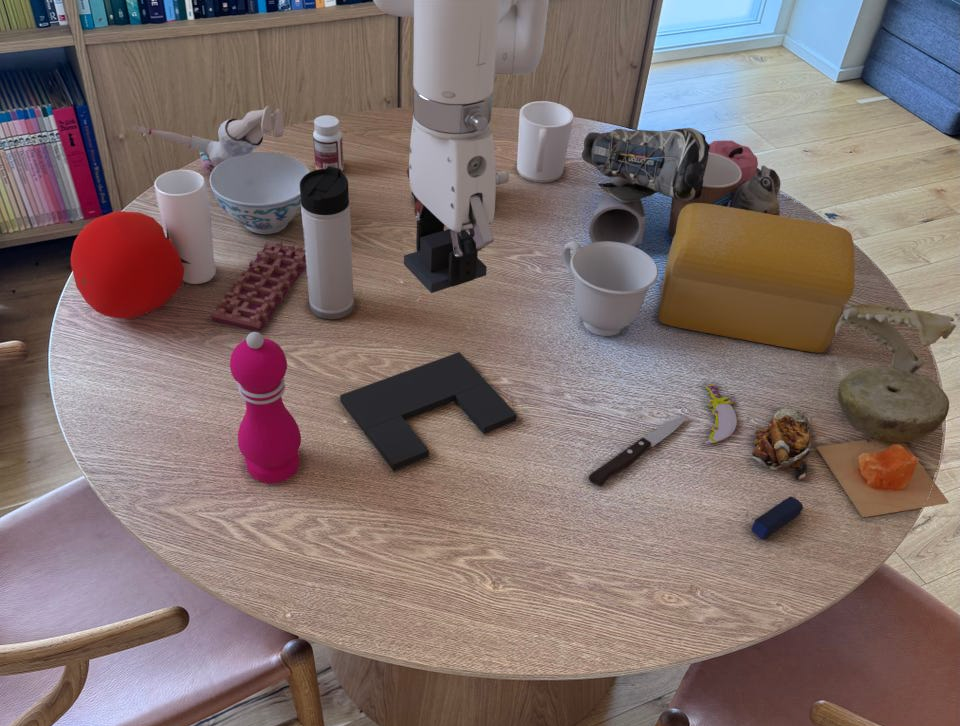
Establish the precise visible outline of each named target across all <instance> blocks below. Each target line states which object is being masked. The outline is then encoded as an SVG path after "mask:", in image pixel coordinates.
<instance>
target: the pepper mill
mask: <svg viewBox="0 0 960 726" xmlns="http://www.w3.org/2000/svg"><path fill="white" fill-rule="evenodd" d="M229 369H230V373H231V376H232V378H233V379H234V380H235V381H236V383H237V387H238V393H239V396H240V397H241V398H242V399H243V400H244V401H245V413H244V416H243V417H242V419H241V422H240V424H239V427H238V432H237V447H238V450H239V453H241V455H242V457H244V460H245V466H246V470H247V473H248V474H249V476H250V477H252V478H253V479H254V480H256V481H258V482H260V483H265V484H277V483H282V482H285V481H287V480H289V479H290V478H292V477H293V476H294V475H295V474H296V473H297V471H298V470H299V467H300V454H299V449H300V447H301V445H302V444H301V443H302V435H301V431H300V428H299V425H298V423H297V421H296V420H295V418H294V416H293V415H292V414H291V412H290V411H289V410H288V409H287V408H286V406H285V404H284V402H283V398H282V396H283V395H284V393H285V391H286V383H285V376H286V372H287V369H288V361H287V356H286V354H285V351H284V350H283V349H282V347H281V346H280V345H279V344H278V343H277V342H275V341H273V340H272V339H270V338H267V337H264V336H263V335H262V334H261V333H260V332H259V331H252V332H249V333H248V334H247V336H246V338H245V339H244V340H242V341H240V342H239V343H238V344H237V345H235V347H234V348H233V350H232V352H231V355H230V358H229Z"/></svg>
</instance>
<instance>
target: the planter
mask: <svg viewBox="0 0 960 726" xmlns="http://www.w3.org/2000/svg"><path fill="white" fill-rule="evenodd" d="M610 182H612V183H614V184H616V185H618V186H621V185H623V184H626V183H632V184H635V182H631V181H629V180H626V179H623V178H620V177H611V178H610V180H609V183H610ZM646 223H647V215H646V212H645V208H644V205H643V201H642V199H639V200H635V201H631V202H621V201H620V200H618V199H616V198H614V197H613V196H612V195H610V194H609V193H607V192H604V193H603V195H602V198H601V199H600V201H599V204H598V206H597V208H596V210H595V211H594V213H593V215H592V218H591V219H590V221H589V225H588V237H589V238H590V241H591V242H592V243H595V242H604V241H608V242H618V243H624V244H627V245H631V246H633V247H636V246H637V245H643V241H644V240H643V239H644V235H645V230H646V225H647V224H646Z"/></svg>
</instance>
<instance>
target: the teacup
mask: <svg viewBox="0 0 960 726" xmlns="http://www.w3.org/2000/svg"><path fill="white" fill-rule="evenodd" d="M571 251H573V254H572V255H571ZM561 259H562V263H563V265H564V266H565V269H566V270H567V271H568V273H569V274H570V275H571V276H572V277H573V278H574V290H573V291H574V295H573V296H574V297H573V299H574V306H575V310H576V313H577V315H578V316H579V318H580V319H581V320H582V323H583V326H584V327H585V329H586V330H587V331H588V332H590V333H591V334H594V335H596V336H599V337H600V336H601V337H612V336H615V335H618V334H619V333H621V331H622V330H623V329H624V328H625V327H628V326H629V325H630V324H631V323H632V322H633V321H634V320H635V319H636V318H637V316H638V314H639V313H640V310H641V308H642V306H643V303H644V300H645V298H646V295H647V292H648V290H649V288H650V287H652V286H653V285H654V284H655V283H656V282H657V280H658V277H659V268H658V266H657V264H656V263H655V261H654V259H652V257H651V256H650V255H648V254H647V253H646V252H645V251H644V250H642V249H640V248H638V247H636V246H634V247H633V246H631V245H627V244H624V243H618V242H608V241H604V242H595V243H593V242H592V243H589V244H586V245H584V246H582V245H581V244H580V243H579V242H577V241H575V240H571V241H568V242H567V243H566V244H564V246H563V248H562V252H561Z"/></svg>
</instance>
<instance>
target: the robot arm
mask: <svg viewBox="0 0 960 726" xmlns="http://www.w3.org/2000/svg"><path fill="white" fill-rule="evenodd" d="M372 1H373V3H374V5H375V6H376V7H377V8H378V9H379V10H380V11H382V13H385V14H387V15H389V16H393V17H401V18H412V19H413V65H412V68H413V69H412V71H413V73H412V74H413V75H412V77H413V78H412V80H413V81H412V124H411V133H410V144H409V158H408V159H409V161H408V163H409V164H408V167H407V168H406V175H407V178H408V180H409V186H410V191H411V195H412V197H413V199H414V203H415V206H414V210H413V212H414V216H415V218H416V219H417V220H416V238H415V239H416V242H415V244H416V245H415V251H416V252H417V251H420V238H421V237H424V236H427V235H431V234H434V233H437V232H441V231H444V230H445V227H447V228H448V229H450V232H451V239H452V245H453V251H454V252H451V253H449V274H448V283H449V284H450V285H451V286H452V287H451V288H453V287H457V286H459V285H464V284H465V283H468V282H469V283H470V282H473V281H474V280H476V279H475V278H476V270H477V258H478V256H479V255H478V253H479V252H480V251H482V249H484V248H485V247H487V246H489V245H490V244H492V243H494V240H495V239H494V235H493V232H492V229H491V225H490V224H493V222H494V218H495V213H496V195H497V194H496V193H497V192H496V191H497V186H498V185H502V184H506V183H508V182H509V181H510V176H509V173H508V171H507V170H502V171H501V170H500V171H498V172H497V164H496V163H497V162H496V148H495V147H496V146H495V140H494V132H493V130H492V129H491V128H490V127H491V123H492V112H493V110H492V109H493V99H494V98H493V97H494V85H495V75H497V74H498V75H510V76H511V75H514V76H525V75H529V74H532V73H533V72H535V71H536V70H537V69H538V67H539V65H540V63H541V60H542V56H543V51H544V45H545V38H546V29H547V21H548V20H547V19H548V11H549V4H550V3H549V2H550V0H372ZM462 231H469V232H468V233H469V235H470V239H468V240H466V241H464V242H463V243H462V239H461V232H462Z"/></svg>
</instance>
